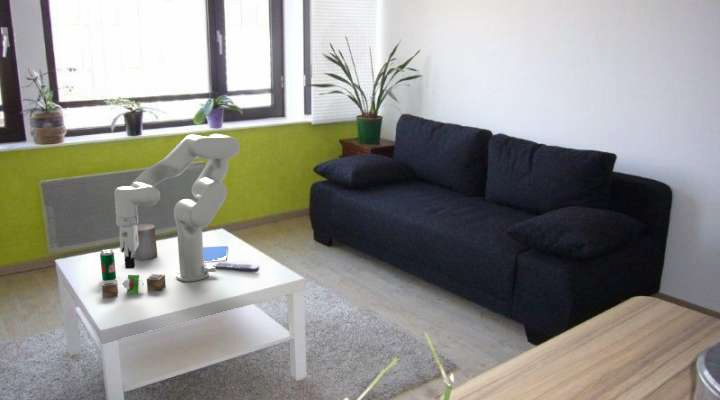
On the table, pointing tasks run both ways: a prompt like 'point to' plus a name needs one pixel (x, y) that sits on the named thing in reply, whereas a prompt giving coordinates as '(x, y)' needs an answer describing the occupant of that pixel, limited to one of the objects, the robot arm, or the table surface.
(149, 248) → the pillar candle
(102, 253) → the soda can
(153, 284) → the marked block 2
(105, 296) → the marked block 1
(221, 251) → the tablet computer
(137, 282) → the geometric puzzle
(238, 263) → the table surface
